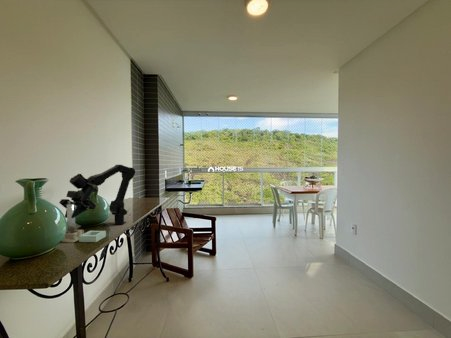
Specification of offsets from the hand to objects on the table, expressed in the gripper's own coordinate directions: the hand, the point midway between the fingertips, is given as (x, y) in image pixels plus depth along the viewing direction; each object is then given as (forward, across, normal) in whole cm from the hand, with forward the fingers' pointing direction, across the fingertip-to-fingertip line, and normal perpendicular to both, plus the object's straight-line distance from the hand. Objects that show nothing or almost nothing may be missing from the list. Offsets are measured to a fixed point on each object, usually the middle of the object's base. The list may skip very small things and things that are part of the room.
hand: (68, 217), depth 116 cm
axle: (+4, 0, +6) cm, 7 cm away
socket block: (+6, +11, +11) cm, 17 cm away
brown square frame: (+8, 0, +10) cm, 12 cm away
